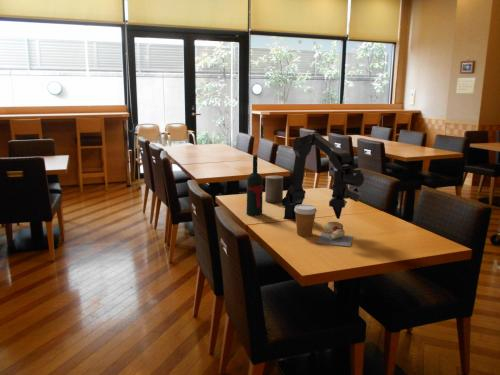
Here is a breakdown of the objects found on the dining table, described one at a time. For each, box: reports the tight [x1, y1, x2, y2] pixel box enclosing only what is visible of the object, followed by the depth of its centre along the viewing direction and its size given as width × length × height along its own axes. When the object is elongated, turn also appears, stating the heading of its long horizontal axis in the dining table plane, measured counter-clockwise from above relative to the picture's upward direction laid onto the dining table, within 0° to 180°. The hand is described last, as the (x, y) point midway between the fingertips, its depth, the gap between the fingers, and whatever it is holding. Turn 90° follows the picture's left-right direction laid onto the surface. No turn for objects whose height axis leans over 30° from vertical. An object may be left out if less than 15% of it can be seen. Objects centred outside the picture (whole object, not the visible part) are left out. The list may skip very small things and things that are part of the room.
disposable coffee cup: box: [294, 203, 318, 237], centre depth 187 cm, size 10×10×12 cm
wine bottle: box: [246, 152, 264, 217], centre depth 214 cm, size 8×10×30 cm
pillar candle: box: [264, 174, 284, 204], centre depth 242 cm, size 10×10×15 cm
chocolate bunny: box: [324, 221, 346, 239], centre depth 183 cm, size 6×8×10 cm
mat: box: [316, 232, 353, 248], centre depth 181 cm, size 13×13×1 cm
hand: (338, 218), depth 185 cm, fingers closed
